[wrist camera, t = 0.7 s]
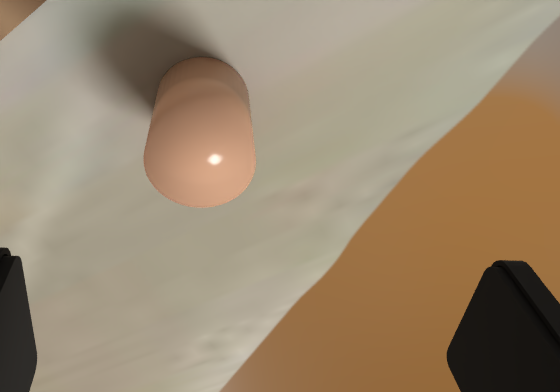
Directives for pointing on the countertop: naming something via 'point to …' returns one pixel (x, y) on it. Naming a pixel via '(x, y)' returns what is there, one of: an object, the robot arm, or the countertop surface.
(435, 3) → the countertop surface
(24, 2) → the board
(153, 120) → the peach capsule cylinder
